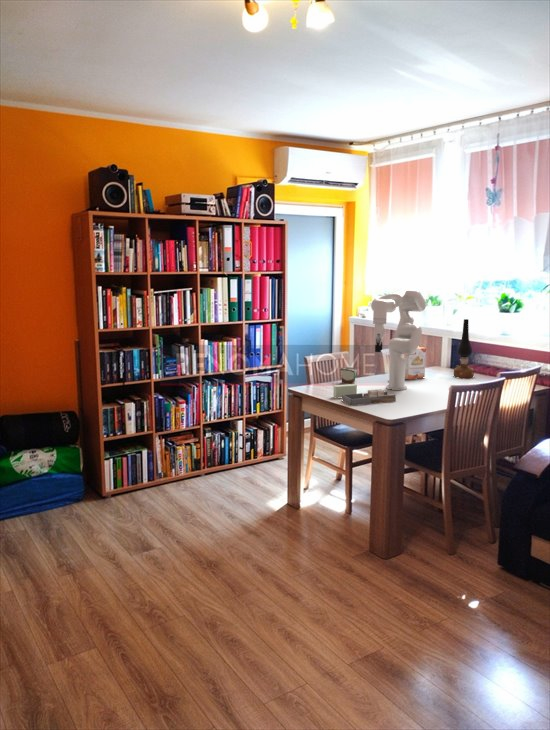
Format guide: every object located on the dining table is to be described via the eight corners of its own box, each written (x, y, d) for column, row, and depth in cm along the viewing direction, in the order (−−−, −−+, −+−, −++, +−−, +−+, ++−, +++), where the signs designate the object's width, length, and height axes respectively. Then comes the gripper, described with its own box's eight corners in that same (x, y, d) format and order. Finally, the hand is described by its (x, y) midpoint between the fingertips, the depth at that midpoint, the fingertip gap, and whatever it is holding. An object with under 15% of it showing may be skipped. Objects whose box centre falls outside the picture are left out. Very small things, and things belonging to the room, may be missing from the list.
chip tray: (342, 400, 337) (342, 394, 337) (362, 399, 341) (362, 393, 340) (351, 405, 326) (351, 399, 325) (371, 403, 330) (371, 397, 329)
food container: (360, 383, 384) (360, 368, 382) (354, 385, 380) (354, 369, 378) (346, 381, 393) (346, 366, 391) (339, 382, 389) (340, 367, 387)
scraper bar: (333, 397, 348) (333, 385, 346) (353, 395, 351) (353, 384, 350) (336, 398, 344) (336, 386, 343) (356, 396, 347) (356, 385, 346)
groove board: (363, 399, 341) (363, 393, 340) (386, 397, 345) (386, 391, 345) (371, 403, 330) (372, 397, 330) (395, 401, 335) (395, 395, 334)
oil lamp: (475, 383, 399) (491, 326, 388) (453, 379, 399) (469, 322, 387) (469, 376, 412) (485, 321, 401) (448, 373, 412) (463, 317, 400)
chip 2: (374, 396, 339) (374, 389, 338) (380, 395, 340) (380, 389, 339) (377, 397, 335) (378, 391, 334) (384, 397, 336) (384, 390, 336)
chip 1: (367, 397, 337) (367, 390, 337) (373, 396, 339) (373, 389, 338) (370, 398, 334) (370, 391, 333) (377, 397, 335) (377, 391, 334)
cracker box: (408, 380, 394) (409, 349, 391) (402, 378, 400) (403, 348, 396) (425, 378, 400) (426, 347, 396) (419, 376, 405) (420, 346, 402)
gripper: (374, 320, 348) (373, 349, 351) (371, 322, 332) (370, 352, 334) (387, 320, 347) (386, 349, 349) (385, 322, 330) (384, 353, 332)
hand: (378, 351), depth 342 cm, fingers open, 9 cm apart
